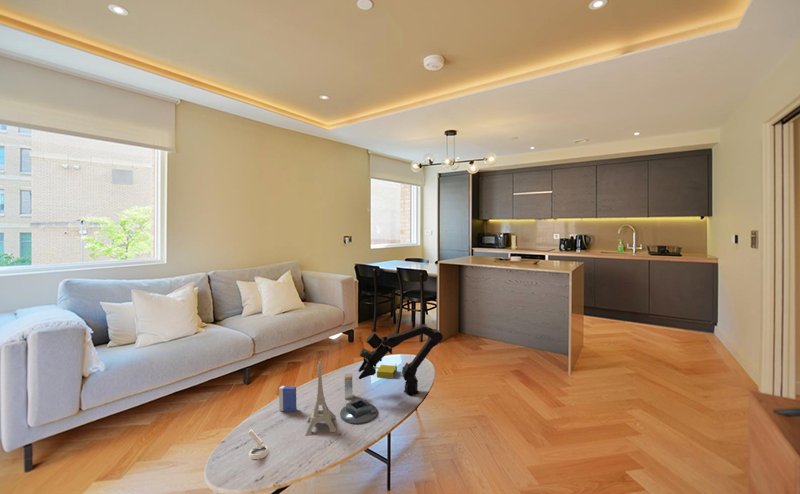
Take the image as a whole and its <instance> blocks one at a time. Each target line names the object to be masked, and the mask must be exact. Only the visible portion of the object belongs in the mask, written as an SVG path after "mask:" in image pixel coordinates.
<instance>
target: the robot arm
mask: <svg viewBox="0 0 800 494" xmlns="http://www.w3.org/2000/svg"><path fill="white" fill-rule="evenodd" d="M420 335H425V336H427V339H426V341H425V343H424V345H423V346H422V347H421V348H420V350H419V351H418V353H417V354H416V355H415V356H414V358H413V359H412V361H411V362H409V363H408V362H406V363H405V364H404V366H403V367H402V369H401V374H402V378H403V380H405V381H404V390H403V392H404V393H405V394H407V396H410V397H411V396H412V397H413V396H414V395H417V394H419V393H420V391H419V389H418V388H419V387H418V383H419V381H418V378H417V376H416V375H417V372H418V368H419V367H420V366H421V364H422V363H423V361H424V360H425V359H426V357H427V356H428V355H429V353H430V352H431V351H432V349H433V348H434V347H436V346H437V345H439V344H440V343H441V342H442V341H443V338H444V337H443V334H442V332H441V331H440V330H439V329H437V328H434V329H433V328H431V327H429V326H426V325H424V324H421V325H419V326H417V327H414V328H411V329H409V330H405V331H402V332H399V333H398V332H397V333H395V332H394V333H391V334H387V336H382V337H380V336H379V335H378V334H377V333H376V332H374V333H372V334H370V335H369V336H368V337H367V338H366V340H365V342H366V343H367V345H369V346H370V347H371V348H372V349H375V350H372V351H370V350H367V349H366V348H361V350H360V353H359V356H360V357H361V358H363V361H362V363H361V365H360V367H359V369H358V372H359V373H360V375H359V376H358V378H357V379H359V380H362V379H364V378H367V377H370V376H375V374H377V369H376V368H375V367H377V364H379V362H382V361H383V358H384V357H385V356H386V355H387V353H389V354H390V355H391V354H392V355H393V348H396V347H398V346H400V344H401V343H403V342H404V341H408V340H410V339H413V338H416V337H418V336H420Z"/></svg>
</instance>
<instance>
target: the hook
mask: <svg viewBox="0 0 800 494" xmlns="http://www.w3.org/2000/svg"><path fill="white" fill-rule="evenodd" d="M248 435H249V436H250V437H251V439H252V440H253V441H254V443H256V446H253V447H252V448H251V449H250V450H249V452H248V455H249V456H248V458H249V459H250V458H251V459H250V460H252V459H257V460H261V459H263V458H265V457H266V456H268V454H269V452H270V450H269V448H268V446H267V445H266V444H264V440H263V439H261V438H260V437H259V436H258V435H257V434H256V432H255V431H254V430H253V429H252V428H250V430H249V431H248ZM261 449H265V450H264V451H263V452H261V453H256V454H255V453H252V452H253V451H255V450H261ZM260 458H261V459H260Z"/></svg>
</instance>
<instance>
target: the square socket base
mask: <svg viewBox="0 0 800 494" xmlns="http://www.w3.org/2000/svg"><path fill="white" fill-rule="evenodd" d="M339 413H340V418H341V420H342V421H343V422H346V423H348V424H351V425H352V424H353V425H361V424H365V423H368V422H371V421H373V420H374V419H375V418H376V417H377V415H378V409H377V407H376V406H375V405H374V404H372V403H370V402H368V401H366V400H365V399H363V398H362V397H361V398H358V399H355V400H353V401H351V402H347V403H345V406H343V408H341V410H340V412H339Z"/></svg>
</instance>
